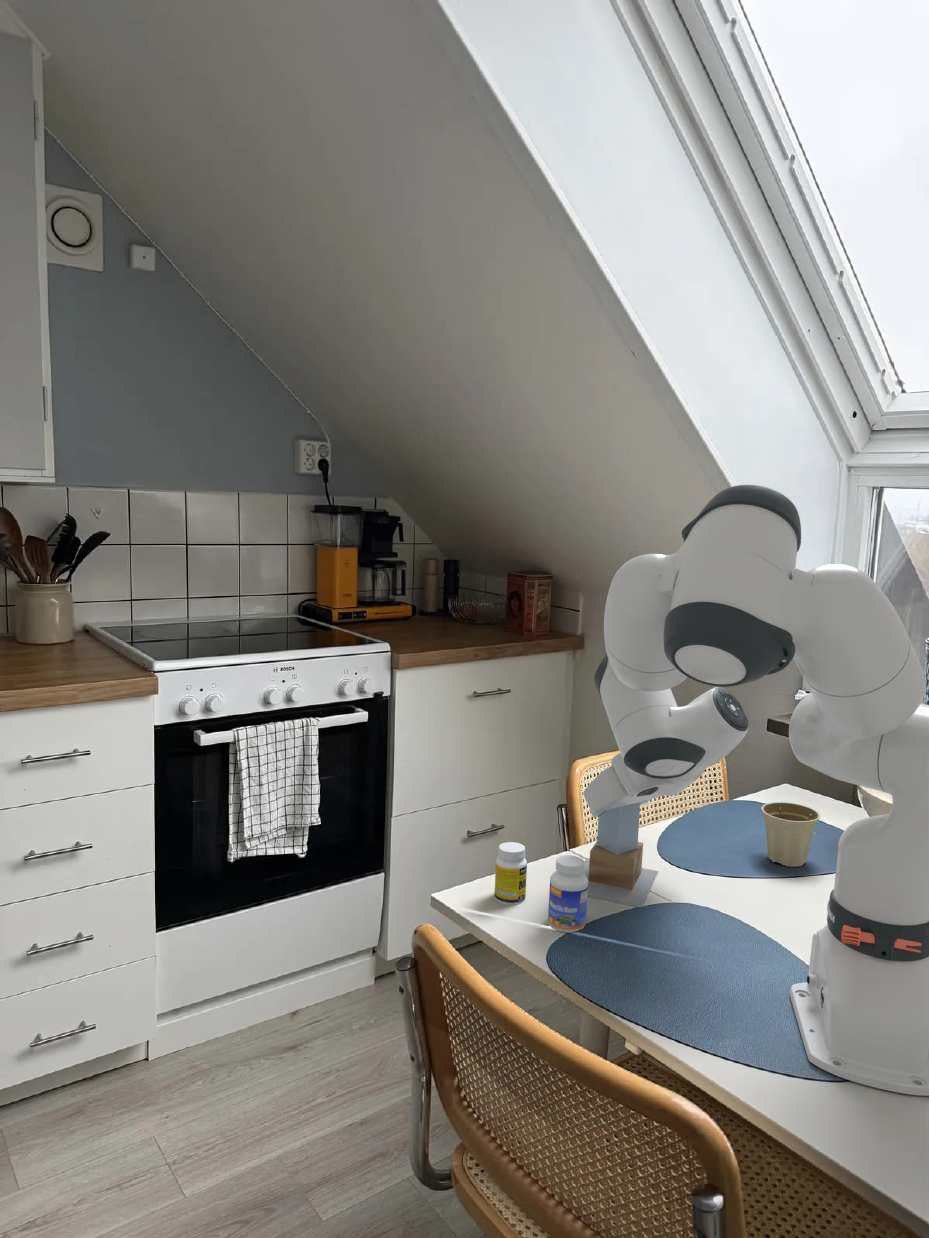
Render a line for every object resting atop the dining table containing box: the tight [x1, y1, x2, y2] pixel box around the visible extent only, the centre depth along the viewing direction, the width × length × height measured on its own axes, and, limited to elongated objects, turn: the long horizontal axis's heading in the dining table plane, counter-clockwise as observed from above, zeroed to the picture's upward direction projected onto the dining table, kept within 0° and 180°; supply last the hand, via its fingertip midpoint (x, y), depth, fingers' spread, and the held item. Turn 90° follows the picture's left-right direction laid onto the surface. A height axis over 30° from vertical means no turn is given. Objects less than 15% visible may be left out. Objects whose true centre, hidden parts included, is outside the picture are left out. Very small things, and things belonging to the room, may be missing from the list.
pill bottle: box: [547, 854, 588, 934], centre depth 132 cm, size 5×5×10 cm
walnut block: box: [589, 841, 644, 889], centre depth 148 cm, size 7×7×5 cm
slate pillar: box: [596, 802, 641, 855], centre depth 146 cm, size 4×4×10 cm
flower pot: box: [760, 801, 821, 867], centre depth 157 cm, size 9×9×9 cm
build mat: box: [583, 857, 659, 909], centre depth 146 cm, size 14×12×1 cm
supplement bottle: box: [493, 841, 528, 906], centre depth 139 cm, size 5×5×8 cm
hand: (616, 806), depth 147 cm, fingers open, 8 cm apart
